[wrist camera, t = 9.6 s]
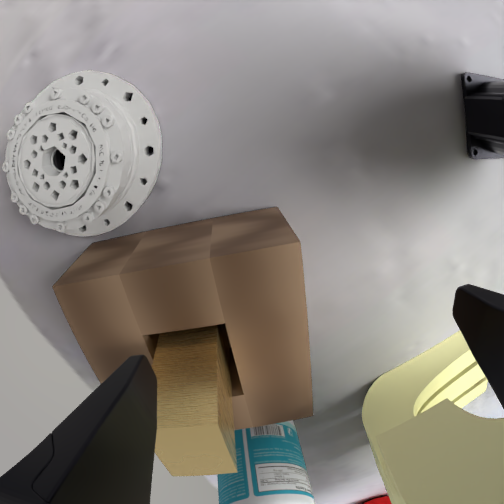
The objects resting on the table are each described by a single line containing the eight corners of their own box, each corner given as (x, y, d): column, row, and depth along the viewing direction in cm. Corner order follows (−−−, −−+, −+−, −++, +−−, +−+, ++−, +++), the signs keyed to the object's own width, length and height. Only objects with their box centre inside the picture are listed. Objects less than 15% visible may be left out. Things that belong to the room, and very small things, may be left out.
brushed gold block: (217, 288, 19) (217, 424, 10) (228, 340, 21) (237, 472, 11) (169, 296, 19) (138, 428, 10) (185, 346, 21) (172, 476, 11)
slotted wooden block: (277, 206, 19) (300, 241, 14) (295, 357, 24) (313, 415, 18) (92, 243, 19) (52, 286, 13) (147, 379, 23) (136, 436, 18)
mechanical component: (3, 162, 16) (94, 259, 20) (-36, 174, 12) (69, 290, 15) (91, 43, 14) (198, 149, 18) (60, 26, 10) (191, 155, 14)
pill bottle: (234, 452, 29) (245, 565, 16) (201, 415, 26) (201, 553, 13) (303, 432, 28) (333, 548, 16) (280, 392, 25) (312, 536, 13)
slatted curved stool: (324, 326, 23) (424, 554, 6) (486, 240, 22) (638, 356, 5) (376, 468, 34) (413, 567, 18) (471, 416, 33) (523, 501, 17)
